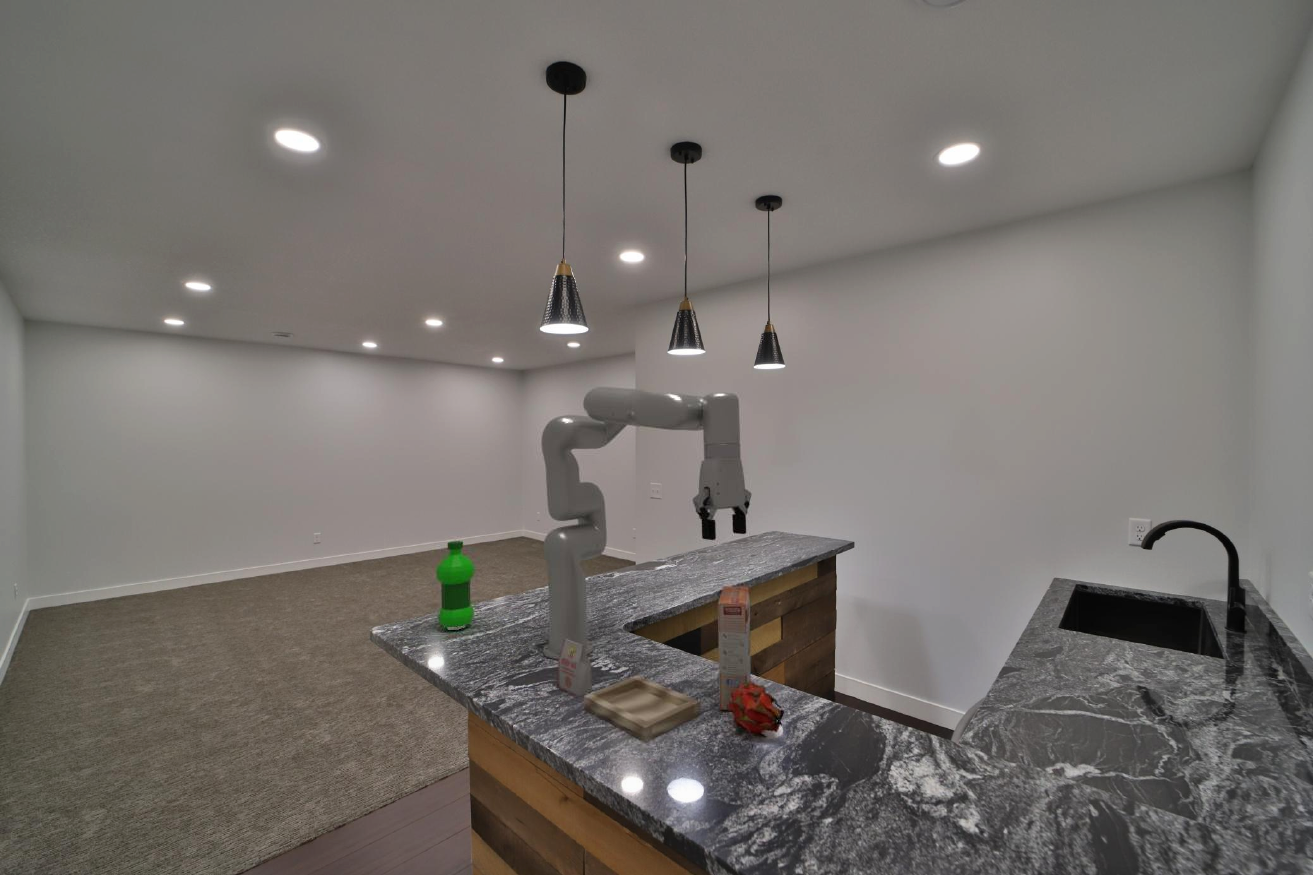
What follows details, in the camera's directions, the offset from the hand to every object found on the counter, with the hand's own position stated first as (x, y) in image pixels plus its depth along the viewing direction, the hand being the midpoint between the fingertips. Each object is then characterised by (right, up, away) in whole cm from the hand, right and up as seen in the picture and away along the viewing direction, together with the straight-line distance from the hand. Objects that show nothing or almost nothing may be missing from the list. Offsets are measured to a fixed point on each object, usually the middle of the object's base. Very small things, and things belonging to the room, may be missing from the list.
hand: (724, 536), depth 114 cm
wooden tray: (-17, -33, -7) cm, 38 cm away
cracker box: (+2, -33, -1) cm, 33 cm away
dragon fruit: (+4, -32, -14) cm, 36 cm away
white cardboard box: (-31, -34, +4) cm, 46 cm away
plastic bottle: (-72, -36, +48) cm, 94 cm away
